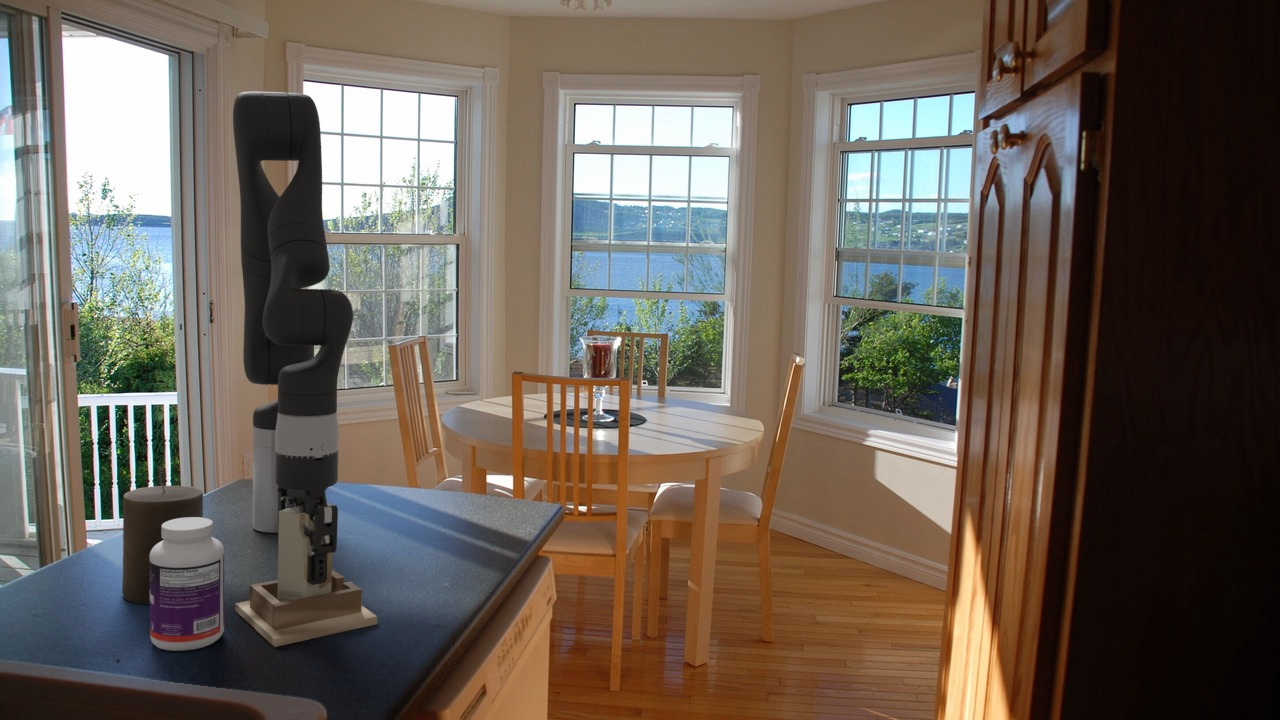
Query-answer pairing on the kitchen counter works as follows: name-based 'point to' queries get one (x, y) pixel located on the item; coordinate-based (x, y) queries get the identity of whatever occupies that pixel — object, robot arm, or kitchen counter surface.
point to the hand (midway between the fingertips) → (305, 574)
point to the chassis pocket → (305, 612)
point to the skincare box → (297, 559)
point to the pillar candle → (150, 530)
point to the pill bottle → (186, 586)
